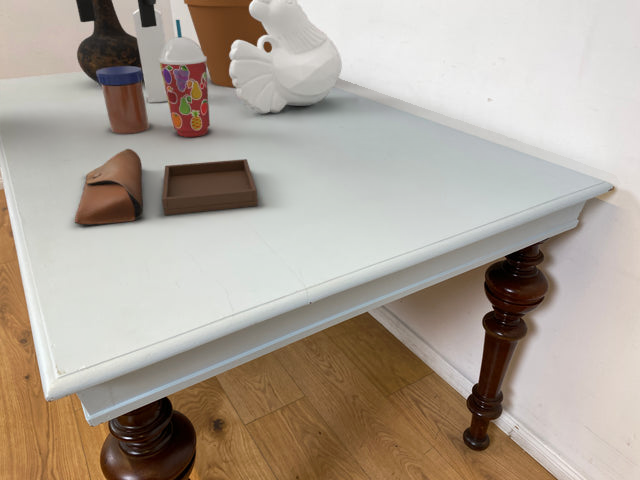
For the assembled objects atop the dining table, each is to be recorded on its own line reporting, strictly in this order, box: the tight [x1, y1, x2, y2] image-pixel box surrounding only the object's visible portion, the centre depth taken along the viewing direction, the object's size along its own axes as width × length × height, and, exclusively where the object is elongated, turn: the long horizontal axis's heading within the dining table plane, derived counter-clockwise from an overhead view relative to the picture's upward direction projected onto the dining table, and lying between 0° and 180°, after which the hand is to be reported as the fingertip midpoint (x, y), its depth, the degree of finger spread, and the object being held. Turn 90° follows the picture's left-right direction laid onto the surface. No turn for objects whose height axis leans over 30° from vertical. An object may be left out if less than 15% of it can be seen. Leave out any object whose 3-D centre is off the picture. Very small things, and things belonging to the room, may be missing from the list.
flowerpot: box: [183, 0, 272, 88], centre depth 129 cm, size 28×28×24 cm
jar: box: [100, 81, 150, 135], centre depth 93 cm, size 7×7×11 cm
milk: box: [132, 7, 168, 104], centre depth 110 cm, size 6×6×22 cm
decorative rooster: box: [229, 0, 343, 115], centre depth 105 cm, size 25×16×25 cm
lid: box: [96, 66, 144, 85], centre depth 90 cm, size 8×8×2 cm
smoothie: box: [159, 19, 211, 138], centre depth 88 cm, size 8×8×20 cm
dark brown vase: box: [76, 0, 143, 84], centre depth 125 cm, size 18×18×28 cm
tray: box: [161, 158, 259, 216], centre depth 68 cm, size 12×12×2 cm
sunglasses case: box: [74, 148, 144, 226], centre depth 67 cm, size 18×7×7 cm
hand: (118, 24), depth 82 cm, fingers open, 13 cm apart
